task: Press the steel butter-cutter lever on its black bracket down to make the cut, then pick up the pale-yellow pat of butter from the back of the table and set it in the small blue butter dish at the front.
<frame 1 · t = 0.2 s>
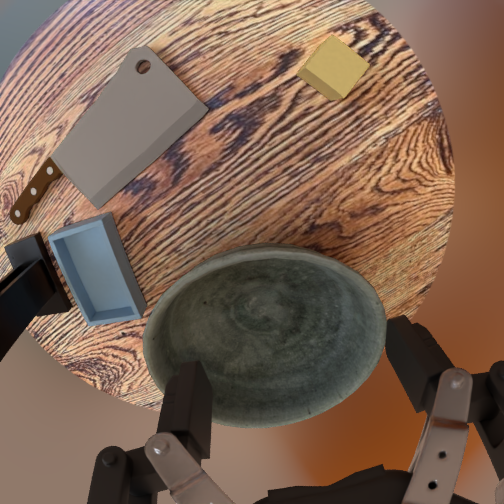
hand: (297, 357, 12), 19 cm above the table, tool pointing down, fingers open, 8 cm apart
kitchen cleaver: (86, 158, 26), on the table
cutter: (39, 275, 31), on the table
butter pat: (325, 72, 24), on the table
butter dish: (101, 267, 31), on the table
bowl: (261, 301, 33), on the table
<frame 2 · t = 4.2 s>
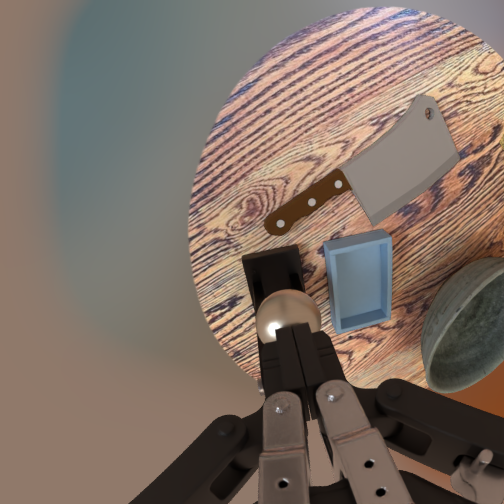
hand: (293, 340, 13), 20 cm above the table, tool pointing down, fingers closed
kitchen cleaver: (369, 178, 30), on the table
cutter: (277, 289, 35), on the table
butter dish: (356, 278, 35), on the table
cutter lever: (294, 357, 18), point 16 cm above the table, hinge at 24.6°, touching gripper
bowl: (454, 297, 38), on the table
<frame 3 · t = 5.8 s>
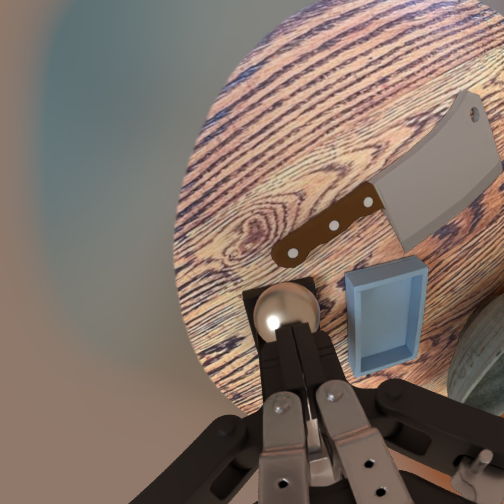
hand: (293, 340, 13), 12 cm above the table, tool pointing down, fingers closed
kitchen cleaver: (404, 193, 23), on the table
cutter: (286, 328, 28), on the table
butter dish: (381, 313, 28), on the table
cutter lever: (303, 399, 15), point 12 cm above the table, hinge at -20.7°, touching gripper
bowl: (482, 325, 31), on the table
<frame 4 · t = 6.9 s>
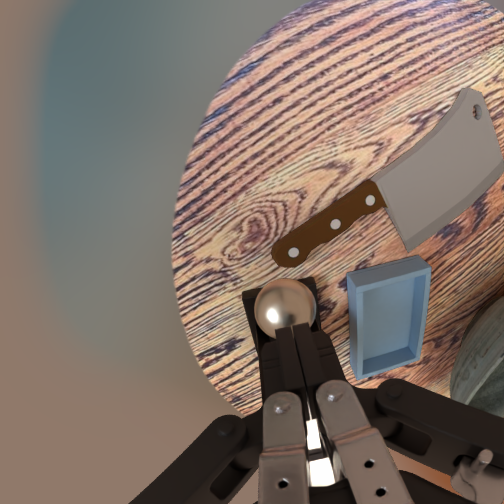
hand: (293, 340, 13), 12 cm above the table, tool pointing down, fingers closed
kitchen cleaver: (406, 191, 23), on the table
cutter: (286, 330, 27), on the table
butter dish: (383, 314, 27), on the table
cutter lever: (302, 395, 15), point 11 cm above the table, hinge at -30.5°
bowl: (485, 326, 30), on the table
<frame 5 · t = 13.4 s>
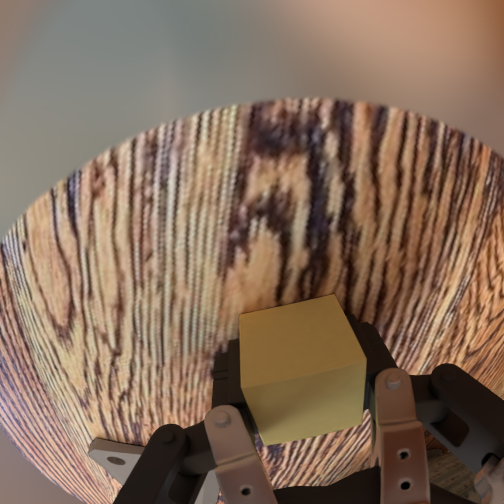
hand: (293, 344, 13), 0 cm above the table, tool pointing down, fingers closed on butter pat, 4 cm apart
kitchen cleaver: (166, 496, 22), on the table
butter pat: (293, 340, 13), on the table, touching gripper
bowl: (402, 470, 22), on the table
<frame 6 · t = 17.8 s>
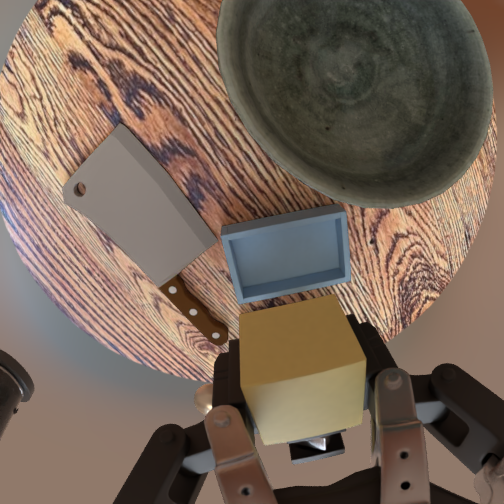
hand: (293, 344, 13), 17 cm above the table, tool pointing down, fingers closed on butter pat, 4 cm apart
kitchen cleaver: (165, 247, 30), on the table
cutter: (289, 326, 34), on the table
butter pat: (293, 339, 13), point 17 cm above the table, touching gripper
butter dish: (286, 249, 30), on the table
cutter lever: (257, 414, 24), point 11 cm above the table, hinge at -30.5°
bowl: (339, 71, 23), on the table
when the fingers open (1 cm above the table, at t = 22.9 s): butter pat stays where it is, resting on butter dish.
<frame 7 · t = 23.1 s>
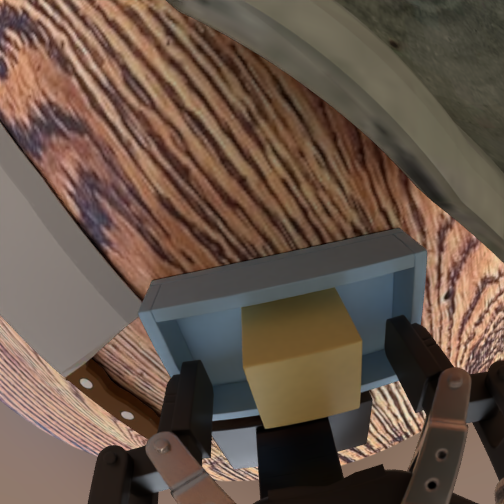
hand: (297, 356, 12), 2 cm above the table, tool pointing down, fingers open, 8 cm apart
kitchen cleaver: (63, 313, 14), on the table
cutter: (294, 428, 18), on the table
butter pat: (293, 326, 14), resting on butter dish
butter dish: (290, 321, 14), on the table
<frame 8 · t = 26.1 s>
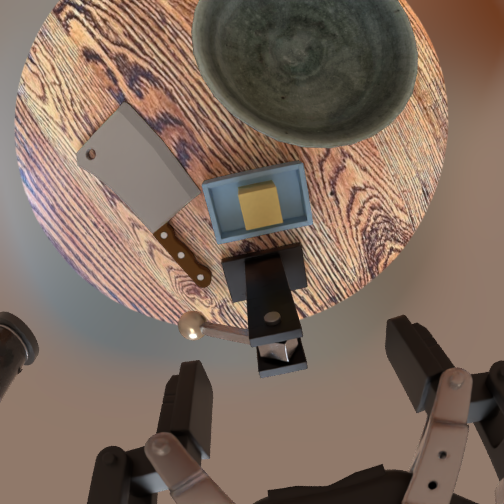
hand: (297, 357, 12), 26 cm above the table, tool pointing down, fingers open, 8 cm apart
kitchen cleaver: (158, 200, 36), on the table
cutter: (265, 271, 40), on the table
butter pat: (258, 199, 35), resting on butter dish
butter dish: (257, 199, 36), on the table
cutter lever: (230, 333, 30), point 11 cm above the table, hinge at -30.5°
bowl: (295, 55, 29), on the table
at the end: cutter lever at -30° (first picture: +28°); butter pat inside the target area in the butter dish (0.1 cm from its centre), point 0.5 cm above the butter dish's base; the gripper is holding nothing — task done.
